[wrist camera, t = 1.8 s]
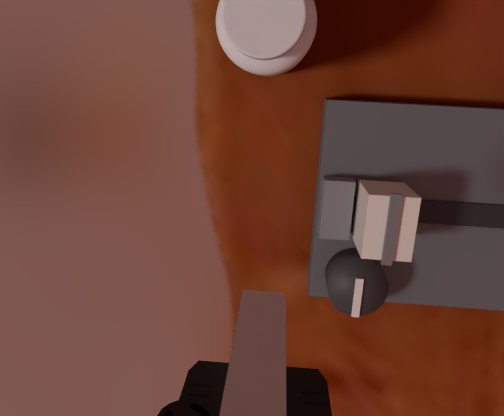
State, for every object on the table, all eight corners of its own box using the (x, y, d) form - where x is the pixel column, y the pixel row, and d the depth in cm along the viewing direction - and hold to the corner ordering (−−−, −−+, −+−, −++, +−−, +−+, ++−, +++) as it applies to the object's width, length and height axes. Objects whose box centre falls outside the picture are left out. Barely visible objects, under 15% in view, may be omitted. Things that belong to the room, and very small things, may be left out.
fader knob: (358, 176, 31) (370, 192, 26) (404, 179, 30) (423, 196, 26) (351, 239, 32) (361, 263, 28) (395, 242, 32) (412, 267, 28)
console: (324, 98, 32) (331, 102, 27) (689, 118, 30) (757, 125, 26) (307, 284, 36) (310, 313, 31) (629, 308, 34) (680, 342, 30)
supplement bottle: (327, 19, 30) (346, -5, 21) (282, 91, 32) (280, 98, 22) (257, -28, 30) (245, -75, 20) (215, 47, 31) (185, 36, 22)
